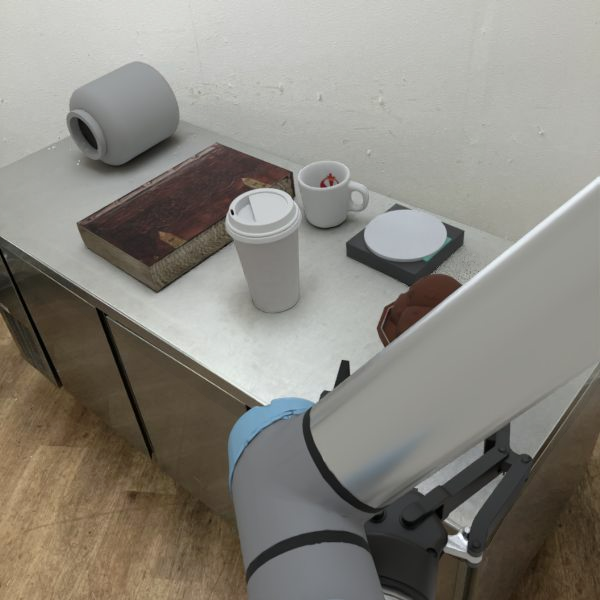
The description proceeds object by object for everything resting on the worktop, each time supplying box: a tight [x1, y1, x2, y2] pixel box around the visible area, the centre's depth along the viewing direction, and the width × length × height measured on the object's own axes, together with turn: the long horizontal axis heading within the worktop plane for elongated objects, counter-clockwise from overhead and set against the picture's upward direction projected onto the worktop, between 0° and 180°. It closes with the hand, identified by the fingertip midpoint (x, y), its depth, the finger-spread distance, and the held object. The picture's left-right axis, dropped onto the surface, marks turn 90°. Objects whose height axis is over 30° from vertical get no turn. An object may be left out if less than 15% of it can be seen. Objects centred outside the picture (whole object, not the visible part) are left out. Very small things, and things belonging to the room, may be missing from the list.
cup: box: [296, 160, 370, 229], centre depth 98 cm, size 11×8×8 cm
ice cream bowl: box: [376, 273, 463, 348], centre depth 70 cm, size 11×11×15 cm
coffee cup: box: [225, 188, 303, 314], centre depth 84 cm, size 10×10×15 cm
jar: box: [47, 60, 196, 166], centre depth 117 cm, size 19×15×25 cm
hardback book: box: [76, 142, 297, 293], centre depth 102 cm, size 29×19×5 cm, turn 137°
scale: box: [345, 203, 465, 287], centre depth 93 cm, size 12×12×3 cm
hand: (417, 378), depth 60 cm, fingers open, 13 cm apart
